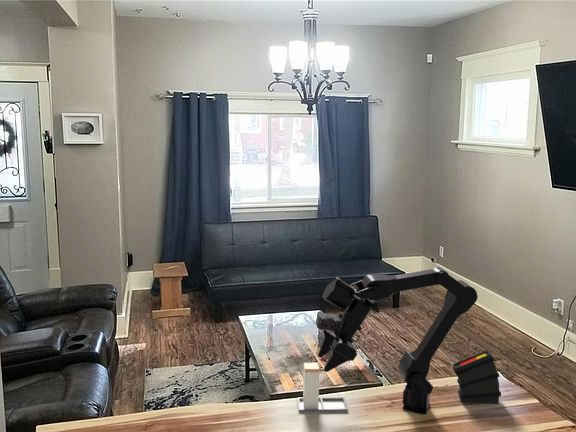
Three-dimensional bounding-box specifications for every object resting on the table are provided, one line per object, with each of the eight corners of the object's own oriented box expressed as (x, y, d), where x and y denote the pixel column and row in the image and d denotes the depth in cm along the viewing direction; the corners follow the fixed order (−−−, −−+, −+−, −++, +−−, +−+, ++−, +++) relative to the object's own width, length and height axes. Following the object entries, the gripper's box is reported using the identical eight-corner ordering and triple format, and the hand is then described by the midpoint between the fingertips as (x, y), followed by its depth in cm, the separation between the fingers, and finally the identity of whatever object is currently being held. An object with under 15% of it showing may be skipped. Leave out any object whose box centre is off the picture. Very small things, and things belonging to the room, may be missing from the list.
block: (317, 402, 164) (318, 362, 162) (318, 409, 160) (319, 368, 158) (303, 402, 164) (303, 362, 162) (303, 409, 160) (304, 368, 158)
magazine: (511, 399, 165) (492, 354, 163) (468, 416, 167) (448, 372, 164) (506, 393, 169) (488, 349, 167) (464, 410, 170) (445, 366, 168)
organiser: (344, 402, 166) (344, 397, 166) (347, 414, 159) (348, 409, 159) (297, 402, 165) (297, 397, 165) (298, 414, 159) (298, 409, 158)
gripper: (323, 291, 164) (293, 336, 165) (336, 314, 146) (302, 364, 147) (355, 310, 166) (325, 355, 168) (371, 335, 148) (338, 384, 149)
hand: (322, 363), depth 158 cm, fingers open, 9 cm apart
